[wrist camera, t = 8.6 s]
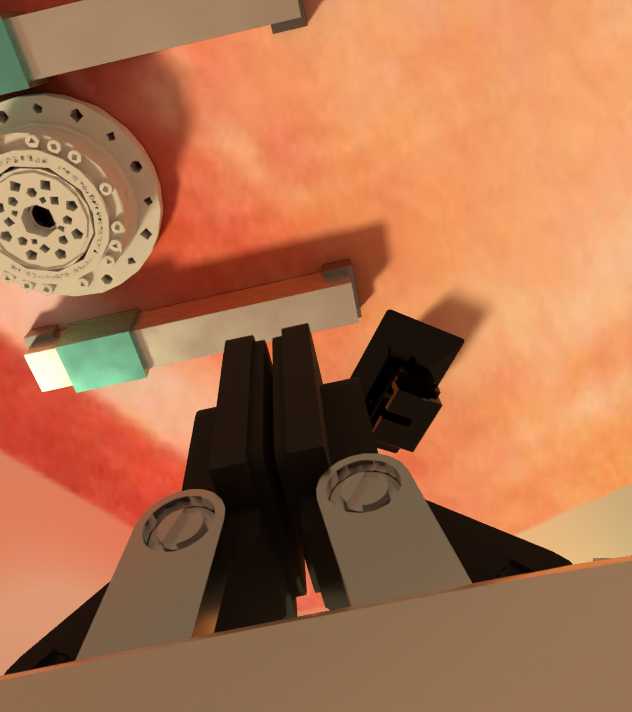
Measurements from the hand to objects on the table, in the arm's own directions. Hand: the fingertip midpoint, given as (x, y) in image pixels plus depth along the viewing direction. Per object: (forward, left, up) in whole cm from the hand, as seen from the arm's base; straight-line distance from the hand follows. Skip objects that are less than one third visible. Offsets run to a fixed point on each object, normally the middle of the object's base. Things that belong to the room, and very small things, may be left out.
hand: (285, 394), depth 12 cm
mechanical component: (+11, -1, -22) cm, 25 cm away
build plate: (-4, +15, -23) cm, 27 cm away
